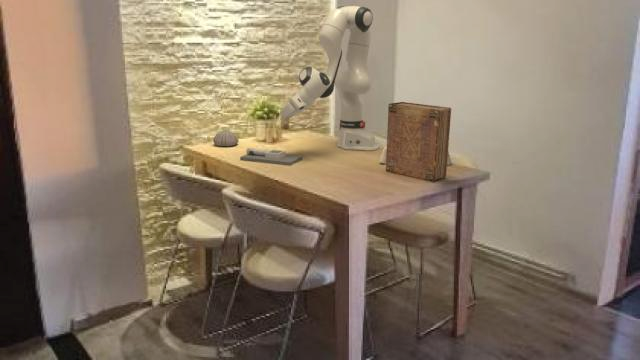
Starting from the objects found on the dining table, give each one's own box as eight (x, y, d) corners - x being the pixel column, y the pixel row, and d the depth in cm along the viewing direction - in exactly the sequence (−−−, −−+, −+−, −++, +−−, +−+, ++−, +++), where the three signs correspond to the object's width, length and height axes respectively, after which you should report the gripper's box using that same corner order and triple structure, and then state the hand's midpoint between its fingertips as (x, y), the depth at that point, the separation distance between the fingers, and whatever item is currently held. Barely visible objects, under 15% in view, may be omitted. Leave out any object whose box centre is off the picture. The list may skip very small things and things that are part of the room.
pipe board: (302, 159, 264) (302, 150, 262) (290, 165, 251) (290, 155, 250) (254, 154, 273) (254, 145, 272) (240, 159, 260) (240, 150, 259)
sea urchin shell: (208, 145, 292) (207, 130, 290) (228, 141, 302) (227, 127, 300) (224, 149, 284) (224, 133, 282) (244, 145, 294) (243, 130, 292)
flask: (441, 161, 263) (443, 141, 260) (454, 164, 258) (456, 143, 255) (432, 164, 258) (434, 143, 255) (445, 166, 253) (447, 145, 250)
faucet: (406, 169, 266) (412, 150, 266) (383, 163, 254) (389, 142, 254) (400, 168, 269) (405, 148, 269) (377, 161, 257) (382, 141, 257)
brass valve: (290, 128, 269) (290, 112, 267) (287, 129, 266) (287, 113, 263) (283, 127, 271) (283, 111, 269) (279, 129, 267) (279, 112, 265)
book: (446, 178, 233) (451, 107, 225) (434, 182, 227) (439, 109, 219) (397, 167, 250) (401, 101, 242) (385, 171, 244) (388, 103, 236)
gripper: (307, 93, 271) (289, 112, 277) (289, 97, 252) (270, 117, 258) (315, 103, 270) (297, 121, 276) (298, 108, 252) (279, 127, 258)
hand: (284, 119), depth 267 cm, fingers closed on brass valve, 4 cm apart
